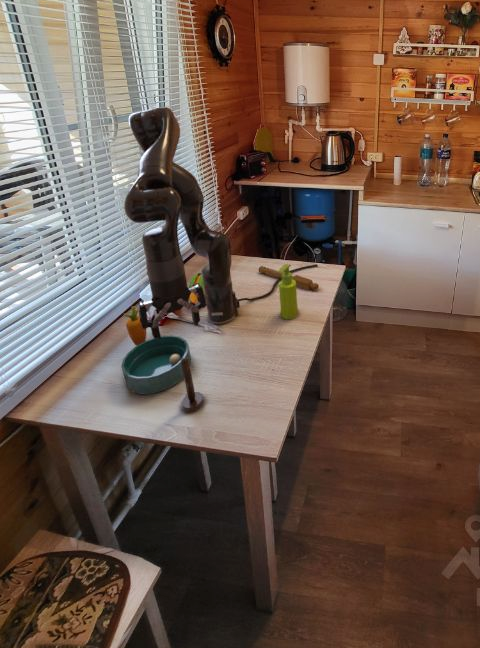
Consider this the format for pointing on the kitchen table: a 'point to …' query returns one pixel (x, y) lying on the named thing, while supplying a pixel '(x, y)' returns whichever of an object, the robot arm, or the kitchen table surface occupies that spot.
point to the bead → (174, 359)
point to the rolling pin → (299, 280)
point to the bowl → (154, 364)
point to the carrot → (135, 327)
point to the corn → (194, 280)
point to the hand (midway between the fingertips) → (177, 330)
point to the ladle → (190, 390)
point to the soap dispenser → (287, 294)
